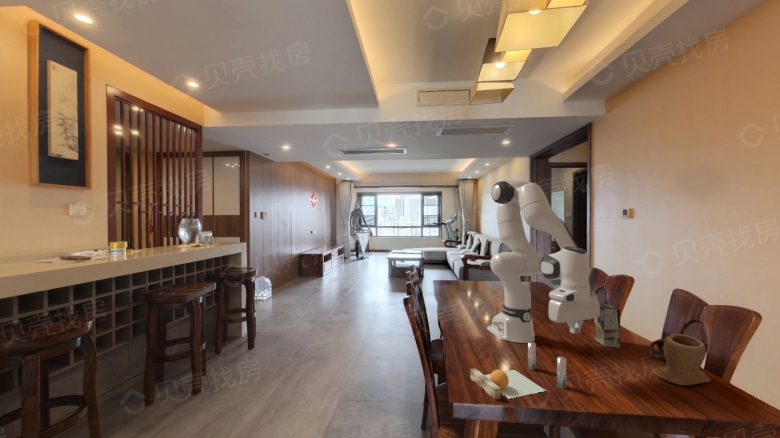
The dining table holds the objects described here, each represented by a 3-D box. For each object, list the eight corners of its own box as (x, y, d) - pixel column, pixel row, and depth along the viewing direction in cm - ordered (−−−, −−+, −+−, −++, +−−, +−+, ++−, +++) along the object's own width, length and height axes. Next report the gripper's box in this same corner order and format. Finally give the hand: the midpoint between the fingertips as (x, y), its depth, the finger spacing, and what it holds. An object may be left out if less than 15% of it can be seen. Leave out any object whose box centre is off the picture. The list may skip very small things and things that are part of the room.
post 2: (555, 385, 97) (555, 356, 98) (561, 383, 98) (561, 355, 98) (561, 389, 95) (561, 360, 95) (568, 387, 96) (568, 359, 96)
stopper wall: (470, 378, 101) (470, 369, 102) (475, 377, 102) (475, 368, 102) (495, 399, 89) (495, 389, 89) (500, 398, 90) (500, 388, 90)
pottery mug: (692, 368, 110) (681, 349, 110) (661, 374, 114) (651, 355, 114) (675, 347, 121) (666, 330, 121) (648, 353, 125) (639, 336, 125)
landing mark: (480, 376, 103) (480, 375, 103) (514, 370, 107) (514, 369, 107) (508, 399, 89) (508, 398, 89) (546, 391, 94) (546, 390, 94)
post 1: (526, 367, 109) (526, 342, 110) (532, 366, 110) (532, 341, 110) (531, 370, 107) (531, 345, 107) (537, 369, 108) (537, 344, 108)
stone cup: (685, 393, 93) (685, 344, 94) (647, 374, 105) (646, 330, 105) (725, 389, 96) (725, 341, 96) (683, 370, 107) (683, 328, 108)
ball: (485, 383, 97) (488, 365, 98) (500, 384, 98) (503, 367, 99) (495, 392, 92) (498, 373, 92) (510, 393, 93) (514, 375, 94)
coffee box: (621, 348, 127) (621, 309, 127) (604, 346, 128) (603, 308, 128) (610, 339, 136) (609, 303, 136) (594, 338, 137) (593, 302, 137)
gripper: (588, 289, 113) (588, 326, 113) (545, 293, 107) (545, 332, 107) (605, 293, 107) (605, 332, 107) (560, 297, 101) (560, 339, 101)
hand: (575, 332), depth 107 cm, fingers closed
